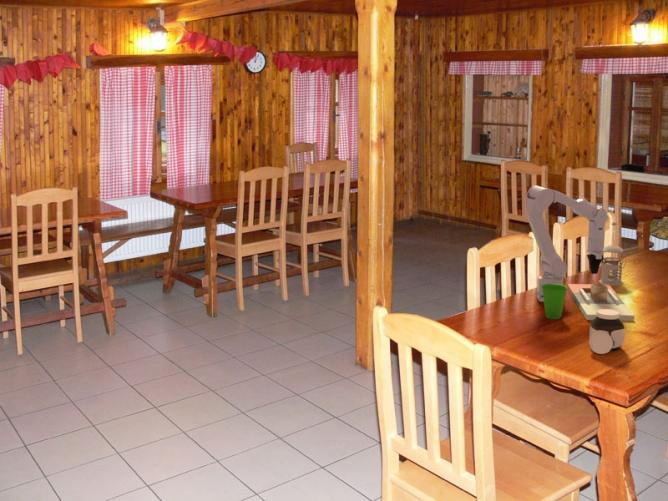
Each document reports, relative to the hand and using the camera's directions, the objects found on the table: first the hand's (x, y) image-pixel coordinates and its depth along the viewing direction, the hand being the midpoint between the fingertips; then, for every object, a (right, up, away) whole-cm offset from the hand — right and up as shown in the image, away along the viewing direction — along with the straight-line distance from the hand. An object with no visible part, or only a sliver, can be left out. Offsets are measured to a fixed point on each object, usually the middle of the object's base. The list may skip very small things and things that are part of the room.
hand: (594, 273), depth 319 cm
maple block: (-1, -9, -9) cm, 13 cm away
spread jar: (-15, -22, -58) cm, 64 cm away
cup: (-22, -15, -24) cm, 36 cm away
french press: (+14, -4, +22) cm, 27 cm away
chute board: (-1, -11, -9) cm, 14 cm away
